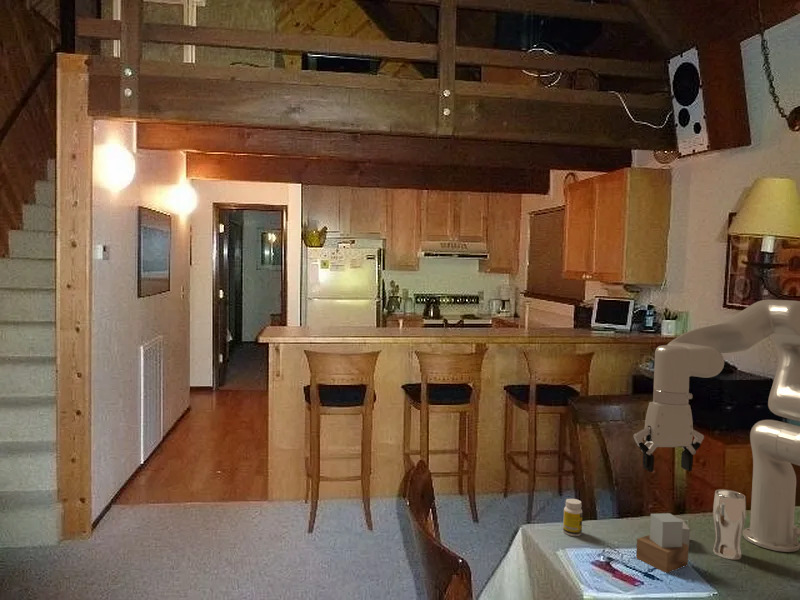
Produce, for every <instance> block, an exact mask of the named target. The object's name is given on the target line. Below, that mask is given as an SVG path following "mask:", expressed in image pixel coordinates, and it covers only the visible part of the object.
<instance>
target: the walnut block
mask: <svg viewBox="0 0 800 600" xmlns="http://www.w3.org/2000/svg"><path fill="white" fill-rule="evenodd" d="M688 547H689V548H690V545H689V546H688V545H686V544H684V543H682V547H670V548H662V547H660V546H659V545H658V544H656V543H655V542H654V541H652V540H651V539H650V534H647V535H646V536H641V537H639V538H638V537H637V538H636V553H635V554H636V557H635V559H636V558H637V560H638V559H639V560H638V561H640V560H641V561H640V562H642V561H643V563H645V564H647V565H648V566H651V567H653V568H655V569H657V570H659V571H661V572H663V573H665V572H666V573H665V574H668V573H671V572H673V571H672V570H674V571H676V569H677V570H679V569H678V568H680V569H682V568H681V567H683V566H685V567H687V566H686V565H689V548H688ZM683 568H684V567H683ZM670 571H671V572H670ZM667 572H668V573H667Z"/></svg>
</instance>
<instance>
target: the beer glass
mask: <svg viewBox="0 0 800 600" xmlns="http://www.w3.org/2000/svg"><path fill="white" fill-rule="evenodd" d="M713 499H714V500H713V506H712V508H713V509H712V515H713V523H714V531H715V541H714V545H713V549H712V550H713V553H714V554H715V555H717V556H718V557H720V558H722V559H727V560H733V561H735V560H736V561H737V560H741V559H742V551H741V539H742V536H743V530H744V529H745V528H744V526H745V522H746V514H747V513H746V512H747V504H746V503H747V502H746V496H745V495H744V494H743V493H741V492H738V491H735V490H731V489H716V490H715V491H714V497H713Z"/></svg>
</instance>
